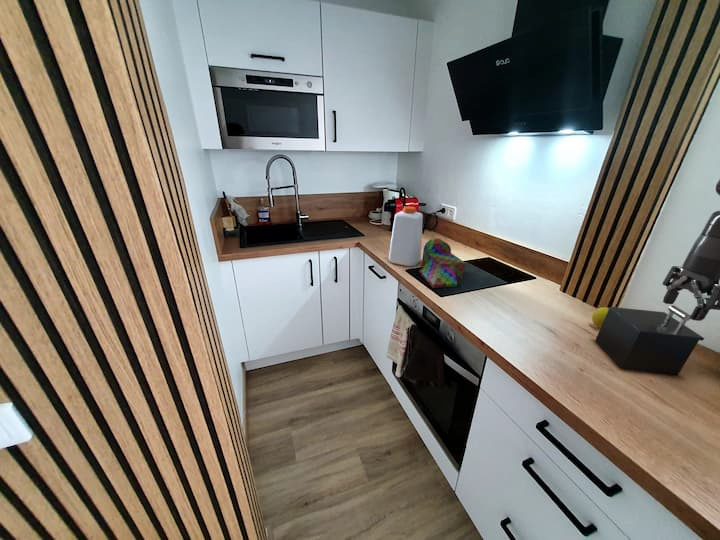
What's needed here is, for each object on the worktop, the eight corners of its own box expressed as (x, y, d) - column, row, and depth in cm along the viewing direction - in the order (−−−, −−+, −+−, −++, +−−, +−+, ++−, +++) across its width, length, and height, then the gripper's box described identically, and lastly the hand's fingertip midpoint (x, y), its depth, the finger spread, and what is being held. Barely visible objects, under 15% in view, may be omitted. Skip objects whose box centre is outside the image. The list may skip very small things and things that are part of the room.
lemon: (606, 325, 98) (615, 305, 95) (611, 334, 94) (620, 313, 91) (586, 321, 101) (594, 301, 97) (591, 329, 96) (599, 309, 93)
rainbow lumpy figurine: (411, 265, 144) (414, 238, 138) (442, 263, 147) (446, 237, 142) (433, 287, 122) (437, 256, 116) (468, 285, 125) (475, 255, 119)
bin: (643, 346, 88) (660, 314, 83) (677, 376, 77) (699, 340, 72) (594, 341, 90) (608, 309, 85) (621, 369, 79) (639, 333, 74)
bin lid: (663, 314, 83) (671, 299, 81) (703, 340, 72) (713, 324, 70) (608, 308, 85) (615, 294, 83) (639, 333, 74) (647, 317, 72)
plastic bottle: (422, 258, 153) (428, 206, 142) (414, 268, 141) (420, 212, 130) (395, 253, 159) (399, 203, 148) (385, 262, 147) (389, 208, 136)
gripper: (763, 266, 63) (723, 328, 69) (703, 246, 76) (674, 299, 82) (723, 263, 64) (687, 324, 70) (671, 244, 77) (645, 297, 83)
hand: (680, 311), depth 76 cm, fingers open, 8 cm apart
